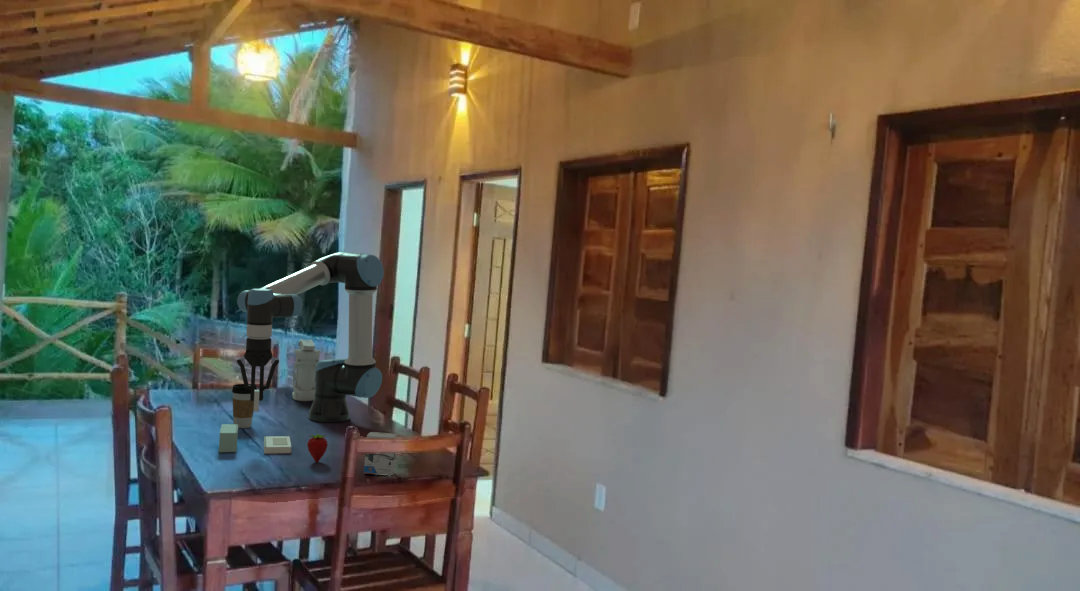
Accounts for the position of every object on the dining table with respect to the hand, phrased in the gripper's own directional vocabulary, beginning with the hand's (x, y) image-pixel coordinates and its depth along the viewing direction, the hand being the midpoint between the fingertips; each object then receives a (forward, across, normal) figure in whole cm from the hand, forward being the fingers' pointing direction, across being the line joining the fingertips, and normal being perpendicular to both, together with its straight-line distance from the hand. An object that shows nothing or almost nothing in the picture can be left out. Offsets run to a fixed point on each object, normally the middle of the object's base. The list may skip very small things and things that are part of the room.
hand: (256, 410), depth 244 cm
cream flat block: (+12, -7, +1) cm, 14 cm away
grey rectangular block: (+12, +8, +1) cm, 14 cm away
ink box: (+12, -35, +33) cm, 49 cm away
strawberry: (+12, -18, +19) cm, 29 cm away
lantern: (+14, -20, -84) cm, 88 cm away
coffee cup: (+13, +4, -30) cm, 33 cm away
